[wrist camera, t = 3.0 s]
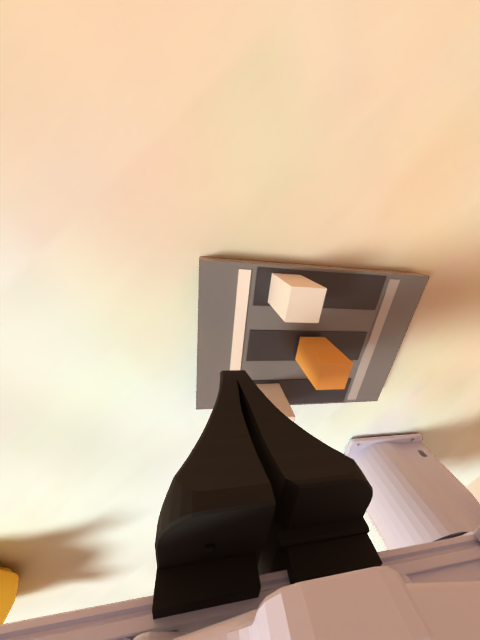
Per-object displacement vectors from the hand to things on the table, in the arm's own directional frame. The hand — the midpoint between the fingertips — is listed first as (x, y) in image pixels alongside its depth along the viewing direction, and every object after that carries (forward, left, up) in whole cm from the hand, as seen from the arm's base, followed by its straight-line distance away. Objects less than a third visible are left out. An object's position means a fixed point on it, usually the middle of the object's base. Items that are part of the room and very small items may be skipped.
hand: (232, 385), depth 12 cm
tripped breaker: (-7, 0, -4) cm, 8 cm away
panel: (-7, 0, -6) cm, 9 cm away
